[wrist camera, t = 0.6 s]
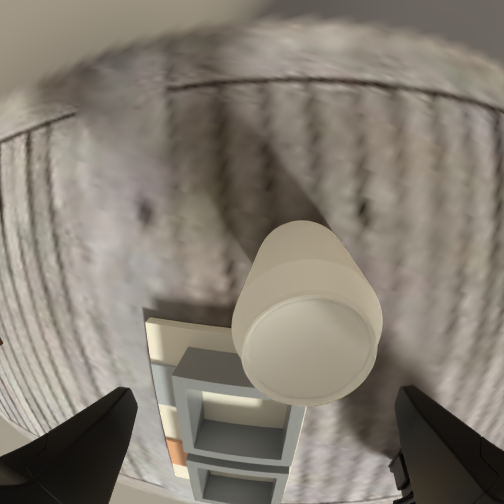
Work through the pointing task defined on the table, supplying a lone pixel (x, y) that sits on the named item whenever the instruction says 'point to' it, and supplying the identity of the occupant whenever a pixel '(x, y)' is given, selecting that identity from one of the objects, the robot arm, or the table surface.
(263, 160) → the table surface
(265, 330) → the beverage can
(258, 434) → the socket board
